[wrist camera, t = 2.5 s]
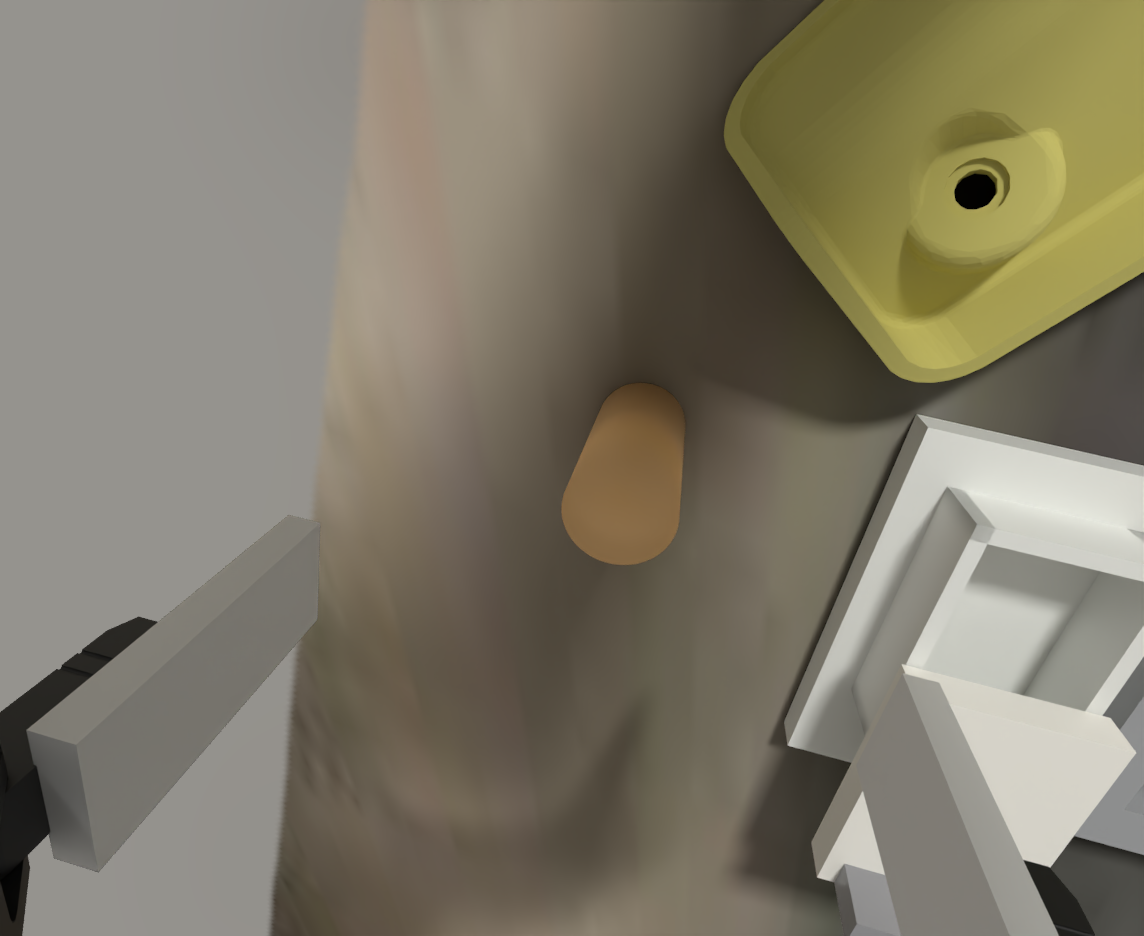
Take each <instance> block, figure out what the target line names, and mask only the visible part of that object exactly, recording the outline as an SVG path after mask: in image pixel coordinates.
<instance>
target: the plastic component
mask: <svg viewBox="0 0 1144 936" xmlns="http://www.w3.org/2000/svg"><path fill="white" fill-rule="evenodd" d="M724 139H725V145H726V149H727V150H728V152H729V153H730V155H731V156H732V158H733V159H734V161H735V162H736V164H737V165H738V167H739V168H740V170H741V171H742V173H743V174H744V176H745V177H746V179H747V180H748V182H749V183H750V185H751V186H752V188H753V189H754V191H755V192H756V194H757V195H758V197H759V198H760V200H761V201H762V203H763V204H764V206H765V207H766V209H767V210H768V212H769V213H770V215H771V217H772V218H773V219H774V221H775V222H776V224H777V225H778V227H779V228H780V230H781V231H782V232H783V234H784V235H785V237H786V238H787V239H788V241H789V242H790V243H791V245H792V246H793V247H794V249H795V250H796V251H797V253H798V254H799V255H800V257H801V258H802V259H803V261H804V262H805V263H806V265H807V266H808V267H809V268H810V270H811V271H812V272H813V273H814V275H815V276H816V277H817V279H818V280H819V281H820V282H821V284H822V285H823V286H824V287H825V289H826V290H827V291H828V292H829V294H830V295H831V296H832V298H833V299H834V300H835V301H836V303H837V304H838V305H839V306H840V308H841V309H842V310H843V312H844V313H845V314H846V315H847V317H848V318H849V319H850V320H851V322H852V323H853V324H854V325H855V327H856V328H857V329H858V331H859V332H860V333H861V334H862V336H863V337H864V338H865V339H866V341H867V342H868V343H869V345H870V346H871V347H872V348H873V350H874V351H875V352H876V353H877V355H878V356H879V357H880V358H881V360H882V361H883V362H884V364H885V365H886V366H887V367H888V369H889V370H890V371H891V372H893V373H894V374H896V375H897V376H899V377H900V378H903V379H906V380H910V381H913V382H926V383H935V382H941V381H947V380H952V379H955V378H958V377H962V376H965V375H967V374H969V373H972V372H974V371H976V370H979V369H981V368H983V367H985V366H986V365H988V364H990V363H991V362H993V361H995V360H997V359H998V358H1000V357H1002V356H1003V355H1005V354H1007V353H1008V352H1010V351H1012V350H1013V349H1015V348H1017V347H1018V346H1020V345H1022V344H1023V343H1025V342H1027V341H1028V340H1030V339H1032V338H1033V337H1035V336H1037V335H1038V334H1040V333H1042V332H1043V331H1045V330H1047V329H1049V328H1050V327H1052V326H1054V325H1055V324H1057V323H1059V322H1060V321H1062V320H1064V319H1065V318H1067V317H1069V316H1070V315H1072V314H1074V313H1075V312H1077V311H1079V310H1080V309H1082V308H1084V307H1085V306H1087V305H1089V304H1090V303H1092V302H1094V301H1095V300H1097V299H1099V298H1101V297H1102V296H1104V295H1106V294H1107V293H1109V292H1111V291H1112V290H1114V289H1116V288H1117V287H1119V286H1121V285H1122V284H1124V283H1126V282H1127V281H1129V280H1131V279H1132V278H1134V277H1136V276H1137V275H1139V274H1141V273H1142V272H1144V0H824V1H823V2H822V3H821V4H820V5H819V6H818V7H817V8H815V9H814V10H813V11H812V12H811V13H810V14H809V15H808V16H807V17H806V18H805V19H804V20H803V21H802V22H801V23H800V24H799V25H798V26H796V27H795V28H794V29H793V30H792V31H791V32H790V33H789V34H788V35H787V36H786V37H785V38H784V39H783V40H782V41H781V42H780V43H778V44H777V45H776V46H775V47H774V48H773V49H772V50H771V51H770V52H769V53H768V54H767V55H766V56H765V57H764V58H763V59H762V60H761V61H759V62H758V64H757V65H756V66H755V67H754V69H753V70H752V71H751V73H750V74H749V75H748V76H747V78H746V79H745V80H744V82H743V83H742V85H741V87H740V88H739V90H738V92H737V94H736V95H735V97H734V99H733V100H732V103H731V106H730V108H729V111H728V114H727V117H726V121H725V128H724ZM974 173H975V174H984V175H988V176H989V177H990V178H991V179H992V181H993V182H994V183H995V188H996V192H995V196H994V198H993V199H992V200H991V202H990V203H989V204H988V205H986V206H984V207H981V208H979V209H965V208H963V207H961V206H960V205H959V204H958V203H957V201H956V200H955V194H954V190H955V188H956V186H957V185H958V183H959V182H960V181H961V180H962V179H963V178H965V177H967V176H970V175H972V174H974Z"/></svg>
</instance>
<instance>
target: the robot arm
mask: <svg viewBox="0 0 1144 936" xmlns="http://www.w3.org/2000/svg"><path fill="white" fill-rule="evenodd" d="M319 550H320V523H319V522H315V521H311V520H307V519H303V518H299V517H295V516H291V515H288V516H287V517H286V518H284V519H283V520H282V521H281V522H280V523H278V524H277V525H276V526H275V527H273V528H272V529H271V530H270V531H269V532H267V533H266V534H265V535H264V536H263V537H261V538H260V539H259V540H258V541H256V542H255V543H254V544H253V545H252V546H250V547H249V548H248V549H247V550H245V551H244V552H243V553H242V554H240V555H239V556H238V557H237V558H236V559H234V560H233V561H232V562H231V563H230V564H228V565H227V566H226V567H225V568H223V569H222V570H221V571H220V572H219V573H217V574H216V575H215V576H214V577H212V578H211V579H210V580H209V581H208V582H207V583H205V584H204V585H203V586H201V587H200V588H199V589H198V590H197V591H195V593H193V594H192V595H191V596H189V597H188V598H187V599H186V600H184V601H183V602H182V603H181V604H180V605H178V606H177V607H176V608H175V609H174V610H172V611H171V612H170V613H169V614H167V615H166V616H165V617H164V618H162V619H161V620H160V621H159V622H156V621H152V620H148V619H145V618H141V617H137V618H135V619H133V620H130V621H128V622H126V623H123V624H121V625H119V626H117V627H114V628H112V629H109V630H107V631H106V632H105V633H103V634H102V635H101V636H99V637H98V638H97V639H96V640H94V641H93V642H91V643H90V644H89V645H88V646H86V647H85V648H84V649H83V650H82V652H81V653H80V654H78V653H77V654H76V655H74V656H73V657H72V658H71V659H69V660H68V661H67V662H65V663H64V664H63V665H62V667H61V669H60V670H58V669H56V670H55V671H54V672H52V673H51V674H50V675H48V676H47V677H46V678H44V679H43V680H42V681H40V682H39V683H38V684H37V685H35V686H34V687H33V688H31V689H30V690H29V691H27V692H26V693H25V694H24V695H22V696H21V697H19V698H18V699H17V700H16V701H14V702H13V703H12V704H10V705H9V706H8V707H6V708H5V709H4V710H3V711H1V712H0V936H22V931H23V923H24V914H25V906H26V897H27V888H28V879H29V871H30V866H29V860H28V854H29V853H30V852H31V851H32V850H33V849H34V848H35V847H36V846H37V845H38V844H39V843H40V842H41V841H42V840H43V839H44V838H45V837H46V836H47V835H48V834H49V838H50V842H51V847H52V852H53V856H54V859H57V860H60V861H64V862H67V863H70V864H73V865H76V866H80V867H83V868H86V869H90V870H92V871H96V872H99V871H100V870H101V869H102V868H103V867H104V865H105V864H106V863H107V862H108V861H109V860H110V858H111V857H112V856H113V855H114V854H115V853H116V852H117V850H118V849H119V848H120V847H121V846H122V844H124V842H125V841H126V840H127V839H128V838H129V837H130V835H131V834H132V833H133V832H134V831H135V830H136V829H137V827H138V826H139V825H140V824H141V823H142V822H143V820H144V819H145V818H146V817H147V816H148V815H149V814H150V812H151V811H152V810H153V809H154V808H155V807H156V805H157V804H158V803H159V802H160V801H161V800H162V798H163V797H164V796H165V795H166V794H167V793H168V792H169V790H170V789H171V788H172V787H173V786H174V785H175V784H176V782H177V781H178V780H179V779H180V778H181V776H182V775H183V774H184V773H185V772H186V771H187V770H188V769H189V767H190V766H191V765H192V764H193V763H194V762H195V760H196V759H197V758H198V757H199V756H200V755H201V753H202V752H203V751H204V750H205V749H206V748H207V747H208V745H209V744H210V743H211V742H212V741H213V740H214V738H215V737H216V736H217V735H218V734H219V733H220V732H221V730H222V729H223V728H224V727H225V726H226V725H227V723H228V722H229V721H230V720H231V719H232V718H233V716H234V715H235V714H236V713H237V712H238V711H239V710H240V708H241V707H242V706H243V705H244V704H245V703H246V702H247V700H248V699H249V698H250V697H251V696H252V695H253V693H254V692H255V691H256V690H257V689H258V687H259V686H260V685H261V684H262V683H263V682H264V681H265V679H266V678H267V677H268V676H269V675H270V674H271V673H272V671H273V670H274V669H275V668H276V667H277V665H279V663H280V662H281V661H282V660H283V659H284V658H285V656H286V655H287V654H288V653H289V652H290V651H291V650H292V648H293V647H294V646H295V645H296V644H297V643H298V641H299V640H300V639H301V638H302V637H303V636H304V635H305V633H306V632H307V631H308V630H309V629H310V628H311V626H312V625H313V624H314V623H315V622H316V621H317V619H318V585H319ZM856 767H857V771H858V775H859V778H860V782H861V786H862V790H863V793H864V797H865V801H866V805H867V808H868V812H869V816H870V820H871V824H872V827H873V831H874V835H875V839H876V842H877V846H878V850H879V854H880V858H881V861H882V865H883V869H884V873H885V876H886V880H887V884H888V888H889V891H890V895H891V899H892V903H893V907H894V910H895V914H896V918H897V922H898V925H899V929H900V933H901V936H1095V934H1094V932H1093V930H1092V928H1091V926H1090V924H1089V922H1088V920H1087V918H1086V916H1085V914H1084V912H1083V911H1082V909H1081V907H1080V905H1079V903H1078V901H1077V899H1076V898H1075V897H1074V896H1073V895H1072V893H1071V892H1070V891H1069V890H1068V889H1067V888H1066V886H1065V885H1064V884H1063V883H1062V882H1061V880H1060V879H1059V878H1058V877H1057V876H1056V875H1055V873H1054V872H1053V871H1052V870H1051V869H1050V867H1048V866H1044V865H1041V864H1037V863H1033V862H1030V861H1026V860H1023V859H1022V856H1021V854H1020V852H1019V850H1018V848H1017V846H1016V844H1015V842H1014V840H1013V837H1012V835H1011V833H1010V831H1009V829H1008V827H1007V825H1006V823H1005V821H1004V818H1003V816H1002V814H1001V812H1000V810H999V808H998V806H997V804H996V802H995V799H994V797H993V795H992V793H991V791H990V789H989V787H988V785H987V782H986V780H985V778H984V776H983V774H982V772H981V770H980V768H979V766H978V763H977V761H976V759H975V757H974V755H973V753H972V751H971V749H970V747H969V744H968V742H967V740H966V738H965V736H964V734H963V732H962V730H961V728H960V725H959V723H958V721H957V719H956V717H955V715H954V713H953V711H952V709H951V706H950V704H949V702H948V700H947V698H946V696H945V694H944V692H943V689H942V687H941V685H940V683H939V682H935V681H931V680H927V679H923V678H919V677H915V676H912V675H908V674H904V673H902V675H901V677H900V679H899V681H898V683H897V685H896V687H895V689H894V691H893V693H892V695H891V697H890V699H889V701H888V703H887V705H886V707H885V709H884V711H883V713H882V715H881V717H880V719H879V721H878V723H877V725H876V727H875V729H874V731H873V733H872V735H871V737H870V739H869V741H868V743H867V745H866V747H865V749H864V751H863V753H862V755H861V757H860V759H859V761H858V763H857V765H856Z"/></svg>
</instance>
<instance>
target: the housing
mask: <svg viewBox="0 0 1144 936" xmlns="http://www.w3.org/2000/svg"><path fill="white" fill-rule="evenodd" d="M901 664H903V665H907V666H911V667H915V668H919V669H923V670H927V671H930V672H934V673H938V674H942V675H946V676H950V677H954V678H958V679H961V680H965V681H969V682H973V683H977V684H981V685H985V686H989V687H992V688H996V689H1000V690H1004V691H1008V692H1012V693H1016V694H1020V695H1023V696H1027V697H1031V698H1035V699H1039V700H1043V701H1047V702H1050V703H1054V704H1058V705H1062V706H1066V707H1070V708H1074V709H1078V710H1081V711H1085V712H1089V713H1093V714H1097V715H1101V716H1105V717H1109V718H1111V719H1112V721H1113V722H1114V723H1115V725H1116V726H1117V727H1118V729H1119V730H1120V731H1121V733H1122V734H1123V735H1124V737H1125V738H1126V739H1127V741H1128V742H1129V743H1130V745H1131V746H1132V747H1133V749H1134V750H1135V751H1136V754H1135V755H1134V757H1133V758H1132V759H1131V761H1130V762H1129V763H1128V765H1127V766H1126V767H1125V769H1124V770H1123V771H1122V773H1121V774H1120V775H1119V777H1118V778H1117V779H1116V781H1115V782H1114V783H1113V785H1112V786H1111V787H1110V789H1109V790H1108V791H1107V793H1106V794H1105V795H1104V797H1103V798H1102V799H1101V801H1100V802H1099V803H1098V805H1097V806H1096V807H1095V809H1094V810H1093V811H1092V813H1091V814H1090V815H1089V817H1088V818H1087V819H1086V820H1085V822H1084V823H1083V824H1082V826H1081V827H1080V828H1079V830H1078V831H1077V832H1076V834H1075V835H1074V836H1076V837H1080V838H1084V839H1087V840H1091V841H1095V842H1098V843H1102V844H1106V845H1109V846H1113V847H1117V848H1120V849H1124V850H1127V851H1131V852H1135V853H1138V854H1142V855H1144V466H1143V465H1138V464H1134V463H1129V462H1125V461H1121V460H1116V459H1112V458H1107V457H1103V456H1099V455H1094V454H1090V453H1085V452H1081V451H1077V450H1072V449H1068V448H1064V447H1059V446H1055V445H1050V444H1046V443H1042V442H1037V441H1033V440H1028V439H1024V438H1020V437H1015V436H1011V435H1006V434H1002V433H998V432H993V431H989V430H984V429H980V428H976V427H971V426H967V425H962V424H958V423H954V422H949V421H945V420H940V419H936V418H932V417H927V416H923V415H918V414H916V416H915V418H914V420H913V423H912V425H911V427H910V430H909V432H908V434H907V437H906V439H905V441H904V444H903V446H902V448H901V451H900V453H899V455H898V458H897V460H896V462H895V465H894V467H893V469H892V472H891V474H890V476H889V479H888V481H887V483H886V486H885V488H884V490H883V493H882V495H881V497H880V500H879V502H878V504H877V507H876V509H875V511H874V513H873V516H872V518H871V520H870V523H869V525H868V527H867V530H866V532H865V534H864V537H863V539H862V541H861V544H860V546H859V548H858V551H857V553H856V555H855V558H854V560H853V562H852V565H851V567H850V569H849V572H848V574H847V576H846V579H845V581H844V583H843V586H842V588H841V590H840V593H839V595H838V597H837V600H836V602H835V604H834V607H833V609H832V611H831V614H830V616H829V618H828V620H827V623H826V625H825V627H824V630H823V632H822V634H821V637H820V639H819V641H818V644H817V646H816V648H815V651H814V653H813V655H812V658H811V660H810V662H809V665H808V667H807V669H806V672H805V674H804V676H803V679H802V681H801V683H800V686H799V688H798V690H797V693H796V695H795V697H794V700H793V702H792V704H791V707H790V709H789V711H788V714H787V716H786V718H785V721H784V725H785V731H786V738H787V745H788V746H791V747H795V748H799V749H802V750H806V751H810V752H813V753H817V754H821V755H824V756H828V757H832V758H835V759H839V760H843V761H846V762H850V763H852V761H853V759H854V757H855V755H856V753H857V751H858V749H859V747H860V745H861V743H862V741H863V739H864V737H865V735H866V733H867V731H868V729H869V727H870V725H871V723H872V721H873V719H874V717H875V715H876V713H877V711H878V709H879V707H880V706H881V704H882V702H883V700H884V698H885V696H886V694H887V692H888V690H889V688H890V686H891V684H892V682H893V680H894V678H895V676H896V674H897V672H898V670H899V668H900V666H901Z"/></svg>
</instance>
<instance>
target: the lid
mask: <svg viewBox="0 0 1144 936" xmlns="http://www.w3.org/2000/svg"><path fill="white" fill-rule="evenodd" d="M902 673H904V674H908V675H912V676H915V677H919V678H923V679H927V680H931V681H935V682H939V683H940V685H941V687H942V689H943V692H944V694H945V696H946V698H947V700H948V702H949V704H950V706H951V709H952V711H953V713H954V715H955V717H956V719H957V721H958V723H959V725H960V728H961V730H962V732H963V734H964V736H965V738H966V740H967V742H968V744H969V747H970V749H971V751H972V753H973V755H974V757H975V759H976V761H977V763H978V766H979V768H980V770H981V772H982V774H983V776H984V778H985V780H986V782H987V785H988V787H989V789H990V791H991V793H992V795H993V797H994V799H995V802H996V804H997V806H998V808H999V810H1000V812H1001V814H1002V816H1003V818H1004V821H1005V823H1006V825H1007V827H1008V829H1009V831H1010V833H1011V835H1012V837H1013V840H1014V842H1015V844H1016V846H1017V848H1018V850H1019V852H1020V854H1021V856H1022V859H1023V860H1026V861H1030V862H1033V863H1037V864H1041V865H1044V866H1048V867H1051V866H1052V864H1053V863H1054V862H1055V860H1056V859H1057V858H1058V856H1059V855H1060V854H1061V852H1062V851H1063V850H1064V848H1065V847H1066V846H1067V844H1068V843H1069V842H1070V840H1071V839H1072V838H1073V836H1074V835H1075V834H1076V832H1077V831H1078V830H1079V828H1080V827H1081V826H1082V824H1083V823H1084V822H1085V820H1086V819H1087V818H1088V817H1089V815H1090V814H1091V813H1092V811H1093V810H1094V809H1095V807H1096V806H1097V805H1098V803H1099V802H1100V801H1101V799H1102V798H1103V797H1104V795H1105V794H1106V793H1107V791H1108V790H1109V789H1110V787H1111V786H1112V785H1113V783H1114V782H1115V781H1116V779H1117V778H1118V777H1119V775H1120V774H1121V773H1122V771H1123V770H1124V769H1125V767H1126V766H1127V765H1128V763H1129V762H1130V761H1131V759H1132V758H1133V757H1134V755H1135V754H1136V751H1135V750H1134V749H1133V747H1132V746H1131V745H1130V743H1129V742H1128V741H1127V739H1126V738H1125V737H1124V735H1123V734H1122V733H1121V731H1120V730H1119V729H1118V727H1117V726H1116V725H1115V723H1114V722H1113V721H1112V719H1111V718H1109V717H1105V716H1101V715H1097V714H1093V713H1089V712H1085V711H1081V710H1078V709H1074V708H1070V707H1066V706H1062V705H1058V704H1054V703H1050V702H1047V701H1043V700H1039V699H1035V698H1031V697H1027V696H1023V695H1020V694H1016V693H1012V692H1008V691H1004V690H1000V689H996V688H992V687H989V686H985V685H981V684H977V683H973V682H969V681H965V680H961V679H958V678H954V677H950V676H946V675H942V674H938V673H934V672H930V671H927V670H923V669H919V668H915V667H911V666H907V665H903V664H901V666H900V668H899V670H898V672H897V674H896V676H895V678H894V680H893V682H892V684H891V686H890V688H889V690H888V692H887V694H886V696H885V698H884V700H883V702H882V704H881V706H880V707H879V709H878V711H877V713H876V715H875V717H874V719H873V721H872V723H871V725H870V727H869V729H868V731H867V733H866V735H865V737H864V739H863V741H862V743H861V745H860V747H859V749H858V751H857V753H856V755H855V757H854V759H853V761H852V763H851V765H850V767H849V769H848V771H847V773H846V775H845V777H844V779H843V781H842V783H841V785H840V787H839V789H838V791H837V792H836V794H835V796H834V798H833V800H832V802H831V804H830V806H829V808H828V810H827V812H826V814H825V816H824V818H823V820H822V822H821V824H820V826H819V828H818V830H817V832H816V834H815V836H814V838H813V840H812V842H811V844H812V850H813V856H814V862H815V868H816V874H817V878H821V879H824V880H828V881H831V882H834V884H835V890H836V895H837V900H838V906H839V911H840V916H841V922H842V927H843V933H844V936H901V933H900V929H899V925H898V922H897V918H896V914H895V910H894V907H893V903H892V899H891V895H890V891H889V888H888V884H887V880H886V876H885V873H884V869H883V865H882V861H881V858H880V854H879V850H878V846H877V842H876V839H875V835H874V831H873V827H872V824H871V820H870V816H869V812H868V808H867V805H866V801H865V797H864V793H863V790H862V786H861V782H860V778H859V775H858V771H857V767H856V765H857V763H858V761H859V759H860V757H861V755H862V753H863V751H864V749H865V747H866V745H867V743H868V741H869V739H870V737H871V735H872V733H873V731H874V729H875V727H876V725H877V723H878V721H879V719H880V717H881V715H882V713H883V711H884V709H885V707H886V705H887V703H888V701H889V699H890V697H891V695H892V693H893V691H894V689H895V687H896V685H897V683H898V681H899V679H900V677H901V675H902Z"/></svg>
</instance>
